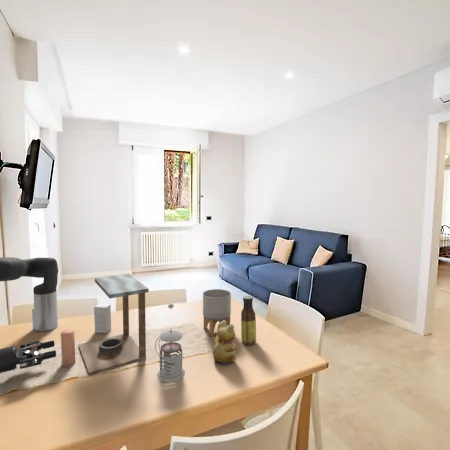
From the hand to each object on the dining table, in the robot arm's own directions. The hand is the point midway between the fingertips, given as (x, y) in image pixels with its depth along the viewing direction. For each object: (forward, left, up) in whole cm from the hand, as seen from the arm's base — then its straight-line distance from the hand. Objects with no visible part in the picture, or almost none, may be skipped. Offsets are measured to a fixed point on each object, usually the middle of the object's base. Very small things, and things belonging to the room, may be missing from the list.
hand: (55, 348), depth 107 cm
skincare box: (+2, +30, -7) cm, 31 cm away
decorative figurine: (+60, +11, -7) cm, 61 cm away
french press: (+42, +1, -7) cm, 42 cm away
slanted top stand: (+15, +12, -7) cm, 20 cm away
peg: (+3, +3, -7) cm, 8 cm away
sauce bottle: (+69, +27, -7) cm, 74 cm away
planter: (+54, +37, -7) cm, 66 cm away
